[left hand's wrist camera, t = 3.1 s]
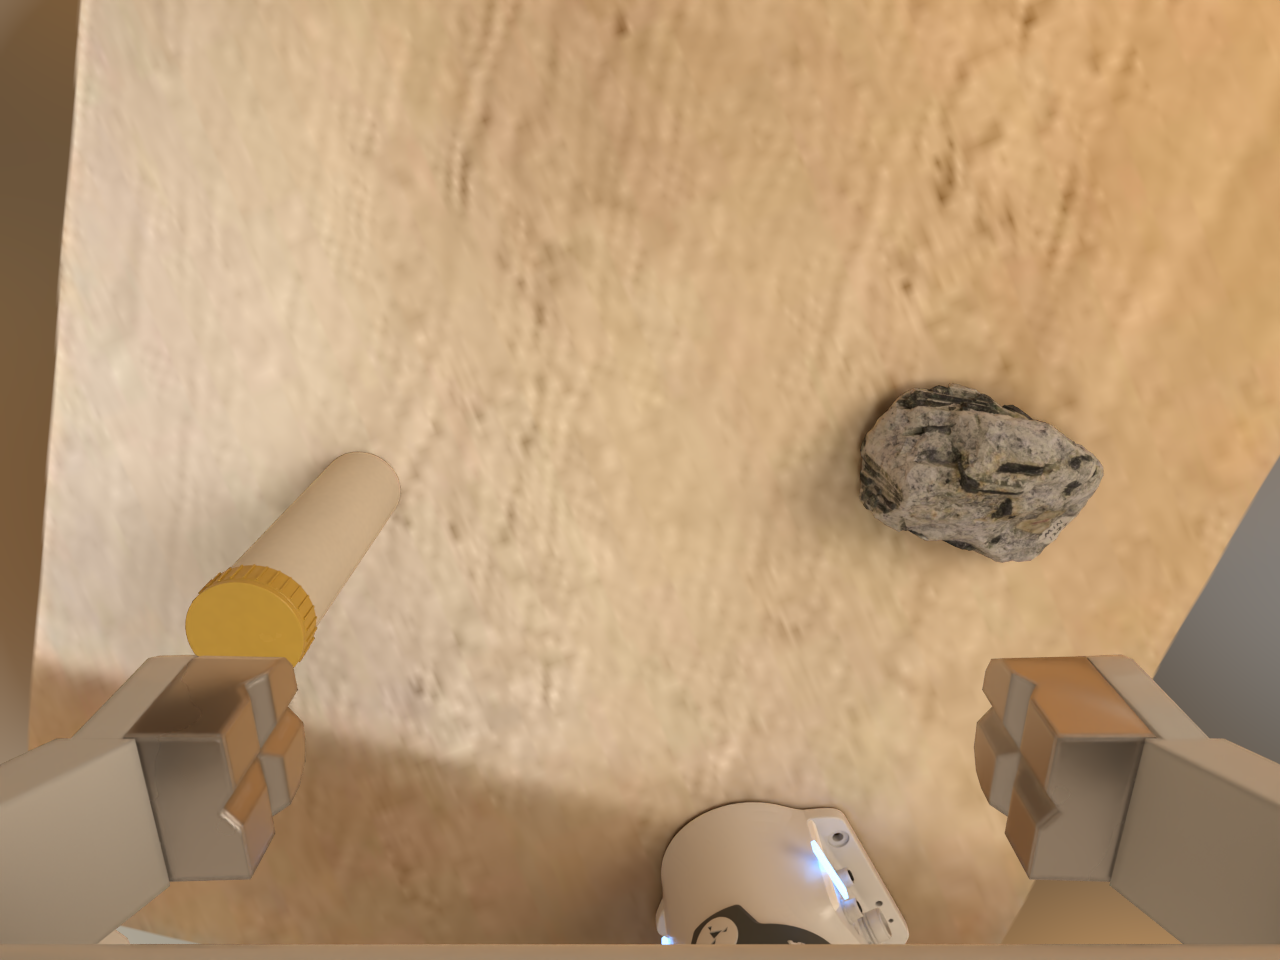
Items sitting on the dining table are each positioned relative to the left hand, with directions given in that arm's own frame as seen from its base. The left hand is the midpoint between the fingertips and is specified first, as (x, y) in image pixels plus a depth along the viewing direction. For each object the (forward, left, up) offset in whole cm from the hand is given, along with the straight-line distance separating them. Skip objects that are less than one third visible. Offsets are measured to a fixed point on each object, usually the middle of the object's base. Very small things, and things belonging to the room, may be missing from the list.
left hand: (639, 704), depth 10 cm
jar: (+16, -19, -48) cm, 54 cm away
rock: (+14, +22, -48) cm, 55 cm away
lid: (+16, -19, -29) cm, 38 cm away
